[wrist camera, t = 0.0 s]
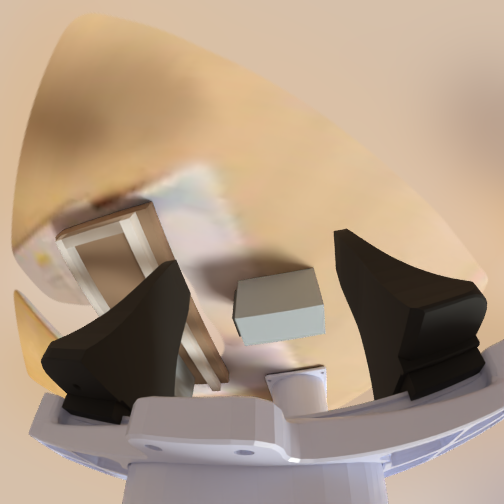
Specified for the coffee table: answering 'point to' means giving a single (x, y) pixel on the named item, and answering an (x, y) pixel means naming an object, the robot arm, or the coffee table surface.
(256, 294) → the gripped grey block
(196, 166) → the coffee table surface
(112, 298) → the raised edge track
